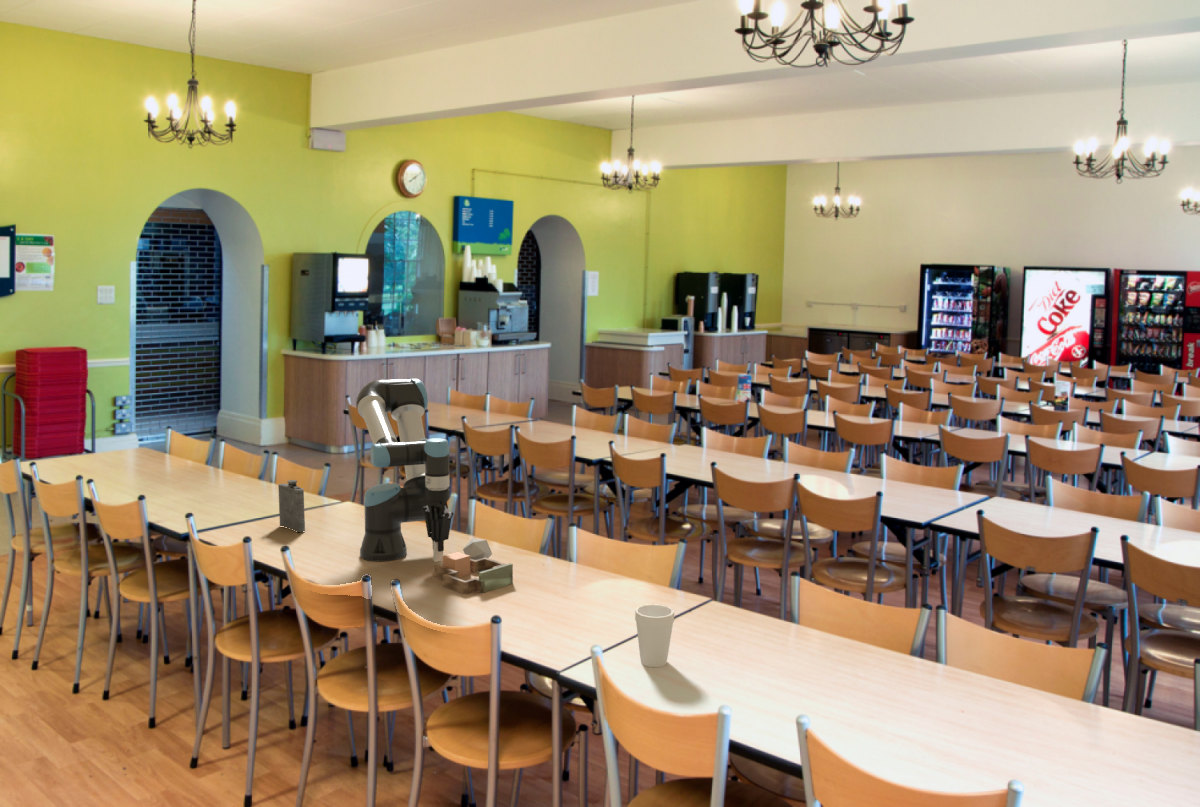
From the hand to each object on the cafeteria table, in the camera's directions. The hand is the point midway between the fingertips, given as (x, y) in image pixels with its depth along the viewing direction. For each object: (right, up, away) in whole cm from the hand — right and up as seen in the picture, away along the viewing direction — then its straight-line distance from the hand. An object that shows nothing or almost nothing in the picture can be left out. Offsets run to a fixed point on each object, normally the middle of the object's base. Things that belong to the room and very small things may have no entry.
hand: (438, 560), depth 301 cm
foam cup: (+65, -13, -70) cm, 97 cm away
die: (+12, -2, +6) cm, 13 cm away
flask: (-60, +4, +44) cm, 75 cm away
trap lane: (+13, -4, -11) cm, 17 cm away
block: (+7, -3, -6) cm, 9 cm away
